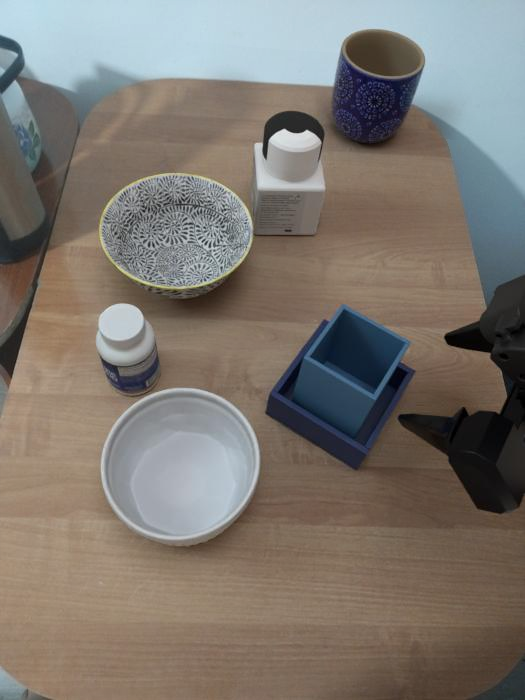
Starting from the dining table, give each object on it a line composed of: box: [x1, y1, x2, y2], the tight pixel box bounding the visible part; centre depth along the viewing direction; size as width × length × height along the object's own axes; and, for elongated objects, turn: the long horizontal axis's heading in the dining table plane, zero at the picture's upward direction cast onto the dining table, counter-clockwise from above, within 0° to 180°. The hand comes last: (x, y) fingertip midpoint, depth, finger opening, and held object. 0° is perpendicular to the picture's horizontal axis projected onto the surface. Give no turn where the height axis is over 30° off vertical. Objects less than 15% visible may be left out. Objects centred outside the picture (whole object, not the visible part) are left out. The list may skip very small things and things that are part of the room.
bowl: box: [98, 172, 255, 300], centre depth 61 cm, size 16×16×8 cm
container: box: [250, 110, 327, 236], centre depth 65 cm, size 8×8×13 cm
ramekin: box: [99, 387, 262, 547], centre depth 49 cm, size 13×13×7 cm
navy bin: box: [265, 318, 417, 471], centre depth 56 cm, size 10×10×4 cm
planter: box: [330, 28, 426, 144], centre depth 76 cm, size 11×11×11 cm
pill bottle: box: [95, 303, 161, 397], centre depth 53 cm, size 5×5×10 cm
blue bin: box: [292, 303, 412, 440], centre depth 53 cm, size 7×7×10 cm
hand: (424, 377), depth 46 cm, fingers open, 9 cm apart
